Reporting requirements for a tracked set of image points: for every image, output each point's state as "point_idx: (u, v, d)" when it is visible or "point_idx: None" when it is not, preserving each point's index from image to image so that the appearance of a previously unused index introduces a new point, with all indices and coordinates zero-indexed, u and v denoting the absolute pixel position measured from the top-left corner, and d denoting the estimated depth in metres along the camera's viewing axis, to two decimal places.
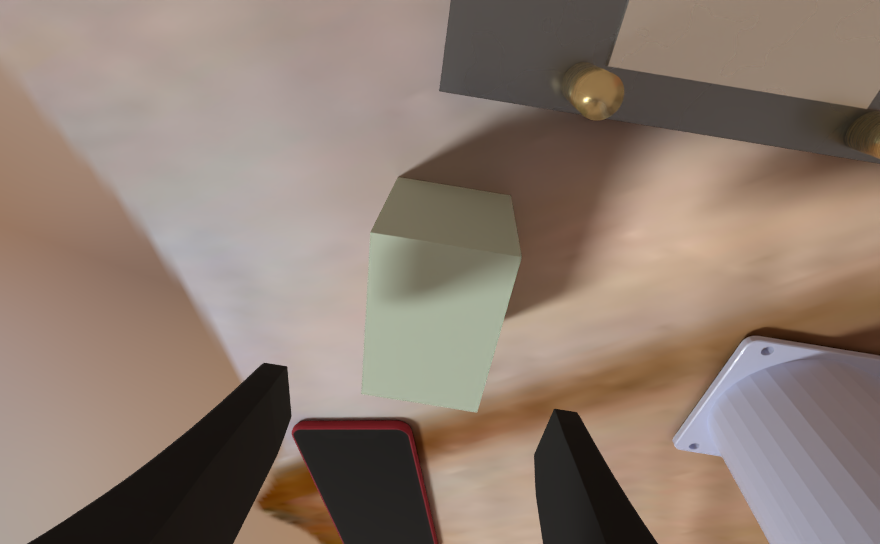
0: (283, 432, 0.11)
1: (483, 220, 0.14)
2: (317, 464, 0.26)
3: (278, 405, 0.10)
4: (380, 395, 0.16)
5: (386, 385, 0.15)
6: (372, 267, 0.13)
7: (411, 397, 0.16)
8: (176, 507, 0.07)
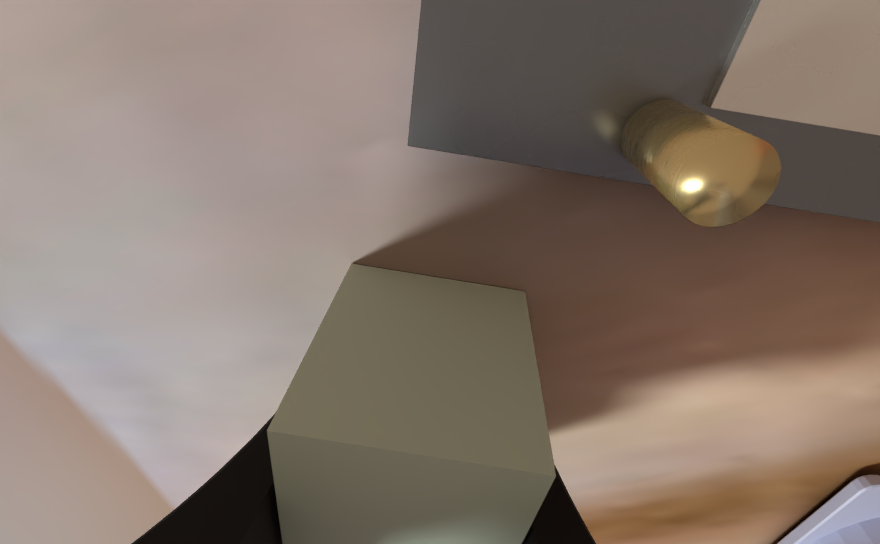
0: None
1: (482, 365, 0.08)
2: None
3: None
4: None
5: None
6: (279, 477, 0.07)
7: None
8: (253, 519, 0.07)
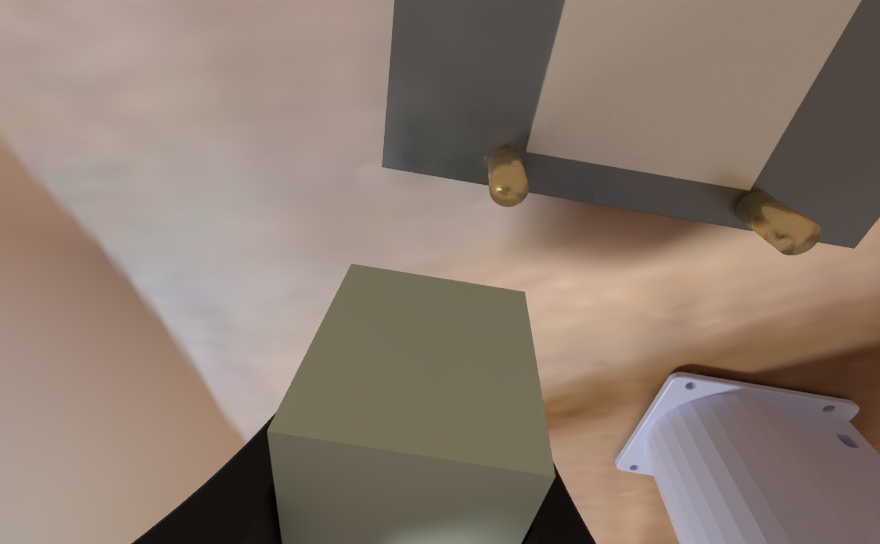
0: None
1: (482, 366, 0.08)
2: None
3: None
4: None
5: None
6: (280, 477, 0.07)
7: None
8: (252, 519, 0.07)
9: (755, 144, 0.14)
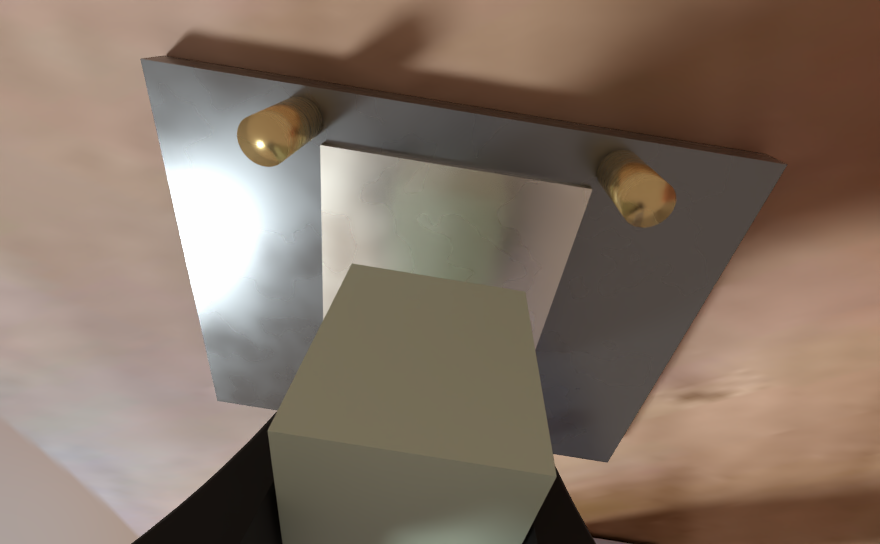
0: None
1: (482, 366, 0.08)
2: None
3: None
4: None
5: None
6: (280, 477, 0.07)
7: None
8: (252, 519, 0.07)
9: None
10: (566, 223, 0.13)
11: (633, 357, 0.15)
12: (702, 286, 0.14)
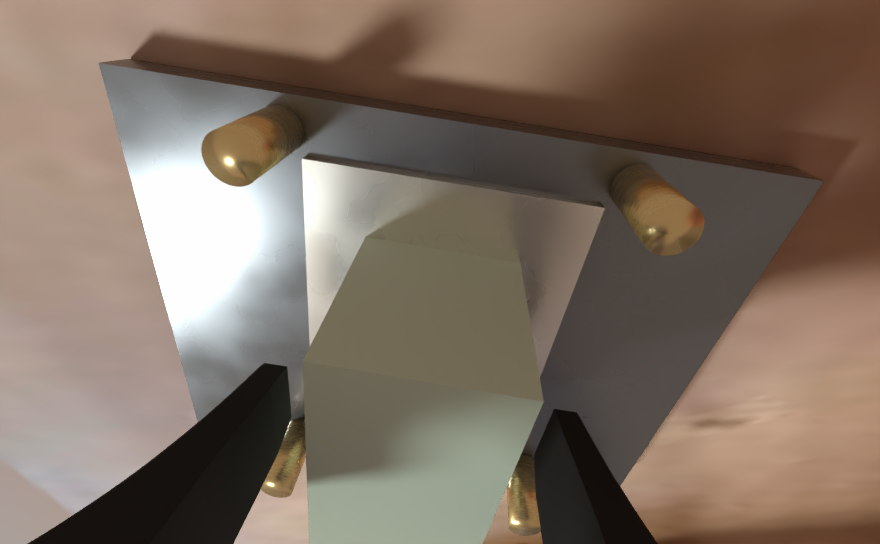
0: (283, 432, 0.11)
1: (482, 319, 0.09)
2: None
3: (278, 405, 0.10)
4: None
5: (343, 536, 0.11)
6: (310, 405, 0.08)
7: None
8: (176, 507, 0.07)
9: None
10: (575, 244, 0.11)
11: (646, 385, 0.14)
12: (723, 312, 0.12)
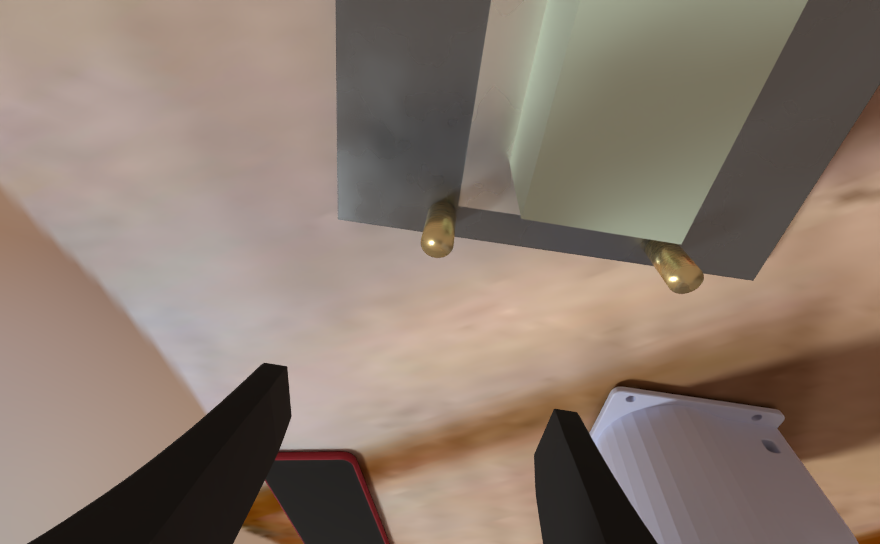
0: (283, 432, 0.11)
1: None
2: (279, 488, 0.30)
3: (278, 405, 0.10)
4: (548, 220, 0.11)
5: (561, 201, 0.11)
6: None
7: (592, 221, 0.11)
8: (176, 507, 0.07)
9: None
10: None
11: (813, 124, 0.14)
12: None
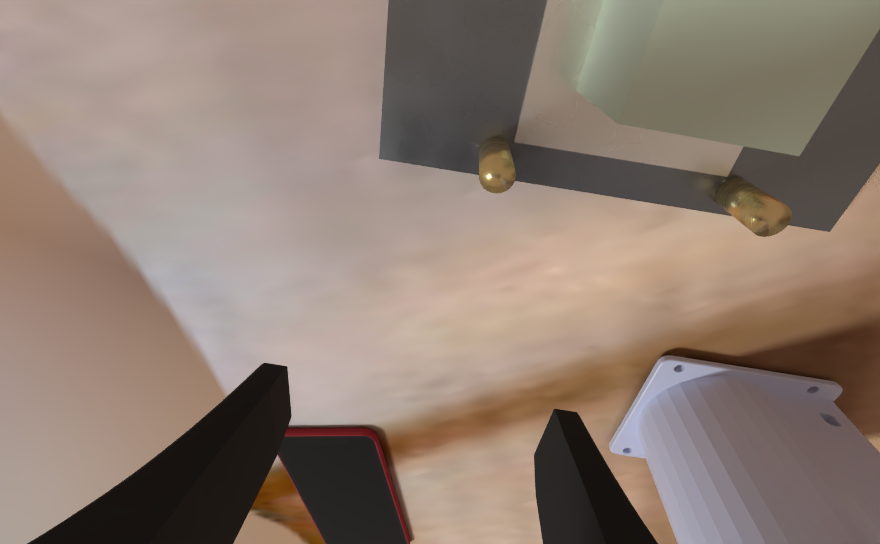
0: (283, 432, 0.11)
1: None
2: (294, 467, 0.29)
3: (278, 405, 0.10)
4: (649, 125, 0.10)
5: (667, 100, 0.10)
6: None
7: (700, 127, 0.10)
8: (176, 507, 0.07)
9: None
10: None
11: None
12: None
